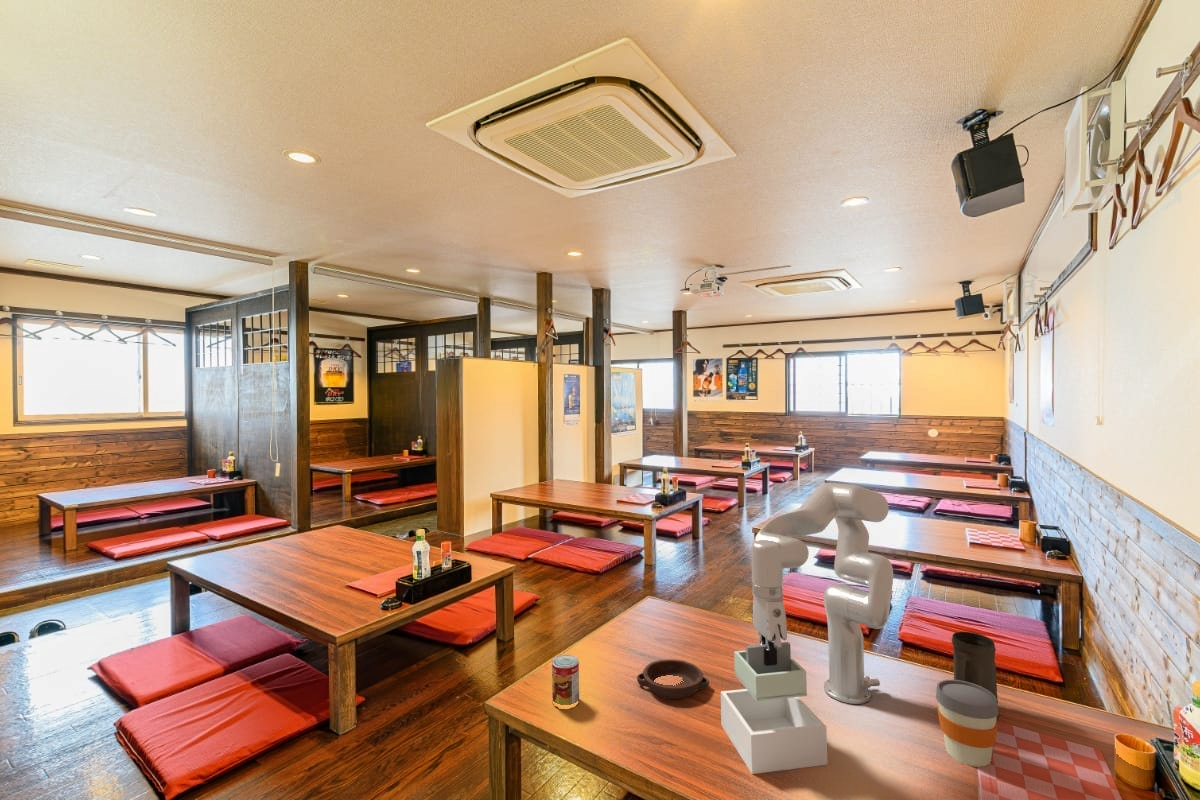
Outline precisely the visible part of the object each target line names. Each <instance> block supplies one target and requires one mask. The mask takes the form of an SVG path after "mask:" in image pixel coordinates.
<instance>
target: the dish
mask: <svg viewBox="0 0 1200 800" xmlns="http://www.w3.org/2000/svg"><path fill="white" fill-rule="evenodd" d="M666 675H673V676H679V677H682V678H683V679H682V680H683V681H684V682H683V681H681V682H682V683H681V682H680V684H679V683H678V685H677V684H676V686H675V685H674V686H673V685H663V684H659V683H656V682H654V680H655V679H656V678H658V677H661V676H666ZM636 680H637V683H638V684H639V685H640V686H643V687H646V688H648V689H649V688H650V689H649V690H650V691H651V692H652V691H653V692H654V693H653V692H652V693H653V694H655V695H656V694H657V695H656V696H658V695H659V696H658V697H660V696H662V697H661V698H663V697H665V698H664V699H668V698H670V700H682V699H685V698H687V697H690V696H691V695H694V693H696V691H697V690H700V689H707V688H709V686H710V680H709V679H708V678H707V677H704V673H703V671H702V670H701V669H700V668H699V667H698V666H696V665H695V664H693V663H690V662H689V661H686V660H682V659H681V660H680V659H672V658H671V659H668V658H667V659H659V660H656V661H653V662H650V663H648V664H647V665H646V666H645V667H644V669H643V670H642V673H640V674H637V676H636ZM681 698H682V699H681Z"/></svg>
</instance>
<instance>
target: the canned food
mask: <svg viewBox="0 0 1200 800" xmlns="http://www.w3.org/2000/svg"><path fill="white" fill-rule="evenodd" d="M579 666H580V660H579V658H578V657H577V656H575V655H571V654H562V655H557V656H555V657H554V658H553V659H552V661H551V683H552V684H551V687H552V693H551V695H552V698H553V699H552V702H553V701H554V702H555V703H557V704H560V705H571V704H574V703H576V702H577V701H578V700H579V701H580V667H579Z"/></svg>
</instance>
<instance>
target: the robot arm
mask: <svg viewBox="0 0 1200 800" xmlns="http://www.w3.org/2000/svg"><path fill="white" fill-rule="evenodd" d="M889 511H890V509H889V503H888V500H887V499H886V497H885V496H884V495H883V494H882V493H880V492H877V491H874V490H872V489H868V488H866V487H863V486H860V485H857V484H856V485H855V484H848V483H838V482H824V483H822V484H820V485H818V487H817V488H816V489H815V490H814V491H813V492H812V493H811V494H810V495H809V497H808V498H807V499H806V500H805V501H804V502H803V503H802V504H801V506H800V507H798V508H796V509H792V510H790V511H787V512H785V513H782V514H780V515H777V516H775V517H773V518H772V519H770V520H768V521H767V522H766V523H765V524H764V525H763V526H762V527H761V528H760V530H759V531H758V532H757V533H756V535H755V537H754V539H753V542H752V544H751V552H750V553H751V588H752V589H751V592H752V593H751V595H752V599H753V600H752V625H753V627H754V629H755V630H756V631H757V632H758V637H759V645H762V644H766V646H765V647H766V649H764V664H765V665H766V666H771V665H777V650H778V648H782V645H781V643H782V640H783V641H787V639H788V629H787V628H788V627H787V615H786V609H785V603H784V584H783V583H784V578H783V576H784V575H783V570H784V569H795V568H800V567H802V566H803V565H804V564H806V562H807V561H808V559H809V553H810V552H809V548H808V546H807V544H806V542H804V541H803V540H800V539H798V538H796V537H800V536H801V537H802V536H808V535H809V536H811V535H815V534H819V533H821V532H824V531H825V530H826V528H827V527H828V526H829V525H830V523H831V522H832V521H833V520H835V522H836V524H837V530H838V535H837V541H836V542H837V543H836V547H835V548H836V549H835V556H834V563H833V565H834V574H835V575H836V576H837V577H838V578H839V579H842V580H844V581H847V582H851V583H855V584H859V585H862V586H866V587H868V590H864V589H862V588H861V589H860V588H857V587H854V586H851V585H847V584H841V583H833V584H830V585H828V586H827V587H826V588H825V589H824V592H823V605H824V609H825V614H826V615H825V616H826V619H827V620H826V622H827V633H828V634H827V638H828V639H827V640H828V641H827V642H828V644H827V645H828V674H829V676H828V679H827V680H825V681H824V682H823V689H824V692H825V693H826V694H827V695H828V696H829V697H831V698H832V699H834V700H836V701H838V702H842V703H846V704H852V705H859V704H860V705H861V704H865V703H868V702H869V701H870V700H871V698H872V697H871V696H872V693H871V691H870V688H871V687H880V685H881V682H880V680H879V679H878V678H870V676H869V675H865V657H864V656H865V655H864V653H865V651H864V633H863V631H862V628H861V626H862V625H863V626H865V627H867V628H871V629H876V630H877V629H878V630H879V629H882V628H884V627H885V626H886V624H887V623H888V619H889V616H890V615H889V614H890V608H891V598H892V592H893V584H894V569H893V565H892V563H891V561H890V560H889V559H888V558H887V557H886V556H884V555H882V554H877V553H872V552H869V543H870V541H869V540H870V534H869V531H868V529H867V527H866V525H865V524H864V522H863V521H865V522H871V523H881V522H883V521H884V520H885V519H886V518H887V516H888V514H889ZM860 625H861V626H860ZM781 639H782V640H781Z"/></svg>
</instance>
